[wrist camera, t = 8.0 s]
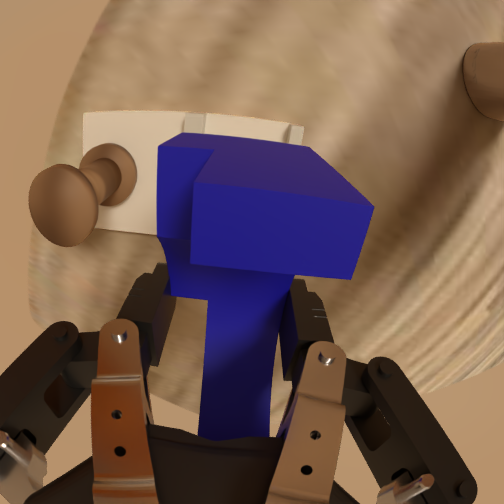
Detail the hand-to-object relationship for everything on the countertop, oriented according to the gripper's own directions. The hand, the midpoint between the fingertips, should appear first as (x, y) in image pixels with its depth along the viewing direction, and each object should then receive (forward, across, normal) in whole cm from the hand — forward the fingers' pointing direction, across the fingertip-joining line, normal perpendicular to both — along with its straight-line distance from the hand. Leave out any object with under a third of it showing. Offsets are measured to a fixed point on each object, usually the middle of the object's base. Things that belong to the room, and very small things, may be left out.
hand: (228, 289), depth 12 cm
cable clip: (+1, 0, 0) cm, 1 cm away
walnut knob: (+15, +13, 0) cm, 20 cm away
